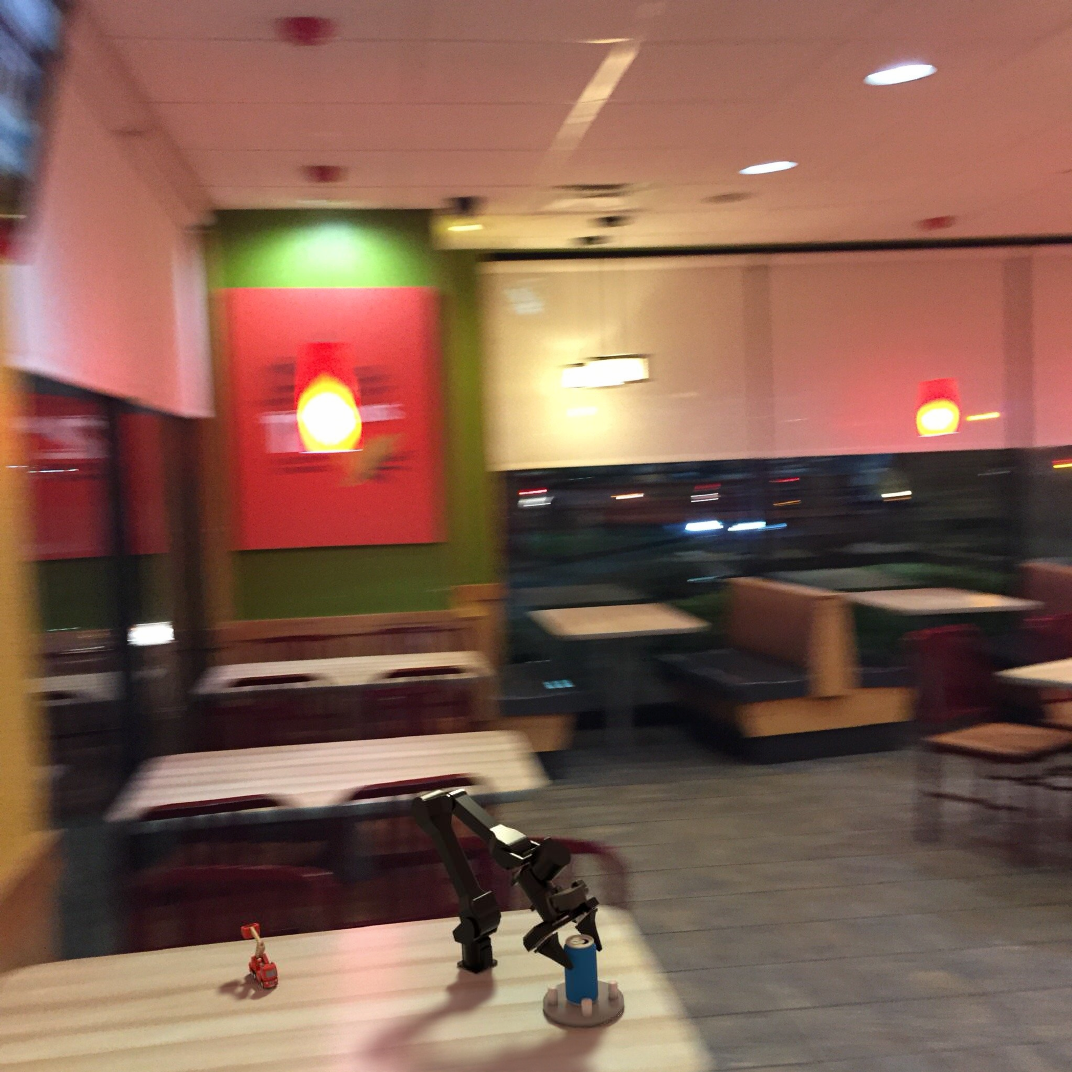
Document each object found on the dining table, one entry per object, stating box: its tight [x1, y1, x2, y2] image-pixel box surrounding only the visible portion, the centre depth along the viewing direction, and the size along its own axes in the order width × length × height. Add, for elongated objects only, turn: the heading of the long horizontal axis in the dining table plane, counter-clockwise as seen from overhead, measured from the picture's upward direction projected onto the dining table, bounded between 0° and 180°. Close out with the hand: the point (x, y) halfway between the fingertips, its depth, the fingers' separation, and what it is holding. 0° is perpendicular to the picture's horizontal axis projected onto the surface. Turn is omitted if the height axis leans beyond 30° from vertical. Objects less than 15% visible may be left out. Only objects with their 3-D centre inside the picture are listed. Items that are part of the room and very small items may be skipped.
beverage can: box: [562, 933, 599, 1006], centre depth 206 cm, size 6×6×12 cm
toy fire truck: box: [240, 922, 279, 989], centre depth 224 cm, size 3×14×10 cm, turn 34°
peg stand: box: [542, 979, 625, 1029], centre depth 206 cm, size 16×16×4 cm
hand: (586, 959), depth 204 cm, fingers open, 9 cm apart
